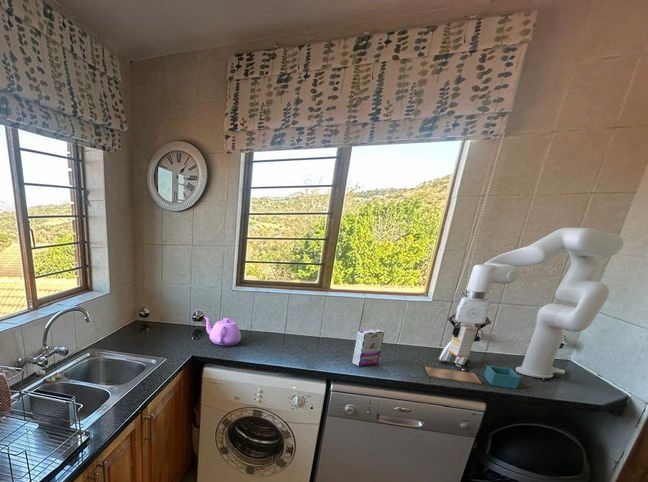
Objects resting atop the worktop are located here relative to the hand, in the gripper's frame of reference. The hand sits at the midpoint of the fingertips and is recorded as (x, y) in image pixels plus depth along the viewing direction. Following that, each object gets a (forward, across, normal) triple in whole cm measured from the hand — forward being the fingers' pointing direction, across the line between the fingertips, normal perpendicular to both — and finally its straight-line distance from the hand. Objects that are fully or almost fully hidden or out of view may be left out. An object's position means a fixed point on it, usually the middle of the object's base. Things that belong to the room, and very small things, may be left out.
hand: (463, 337), depth 173 cm
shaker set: (+18, +3, +20) cm, 27 cm away
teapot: (+18, -107, +2) cm, 109 cm away
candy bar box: (+18, -35, -1) cm, 39 cm away
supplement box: (+8, 0, 0) cm, 8 cm away
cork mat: (+18, 0, 0) cm, 18 cm away
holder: (+18, +17, 0) cm, 25 cm away
